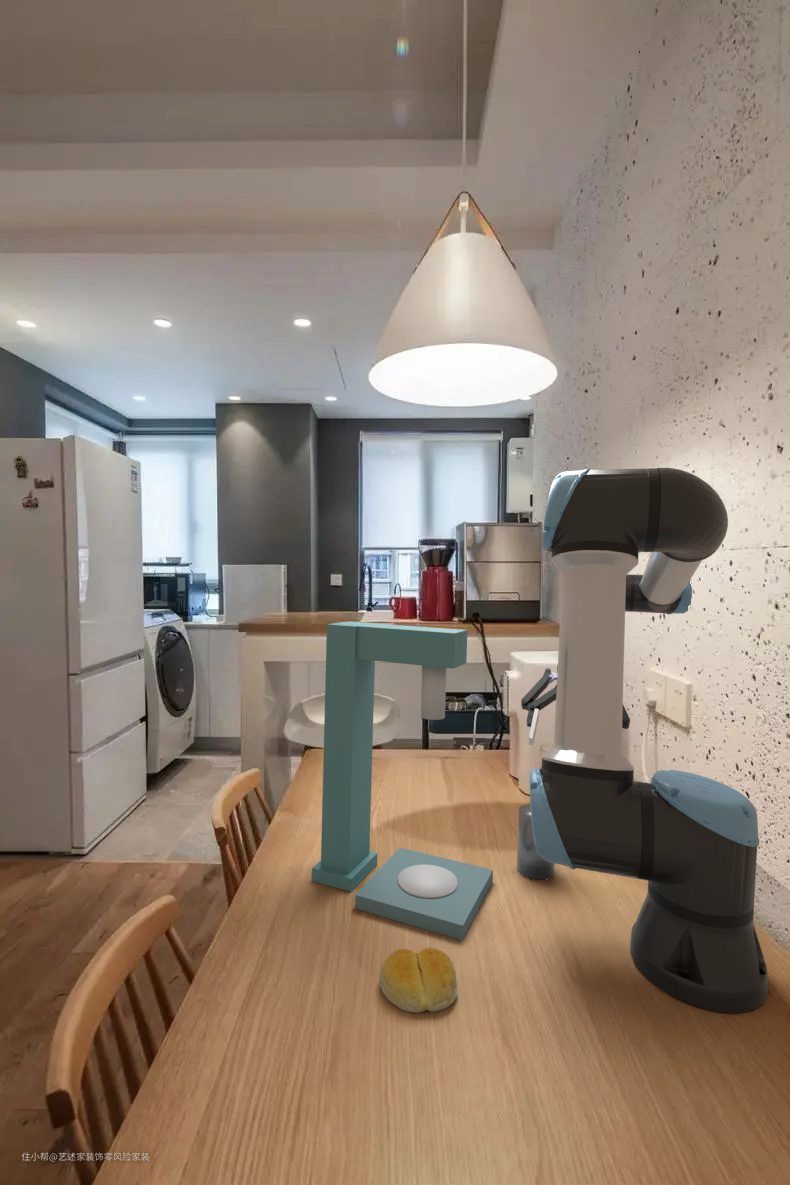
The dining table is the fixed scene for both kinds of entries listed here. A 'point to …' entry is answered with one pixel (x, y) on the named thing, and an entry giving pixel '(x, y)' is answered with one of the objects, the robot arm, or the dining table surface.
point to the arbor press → (409, 878)
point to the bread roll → (419, 980)
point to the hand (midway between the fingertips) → (567, 749)
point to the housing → (530, 850)
